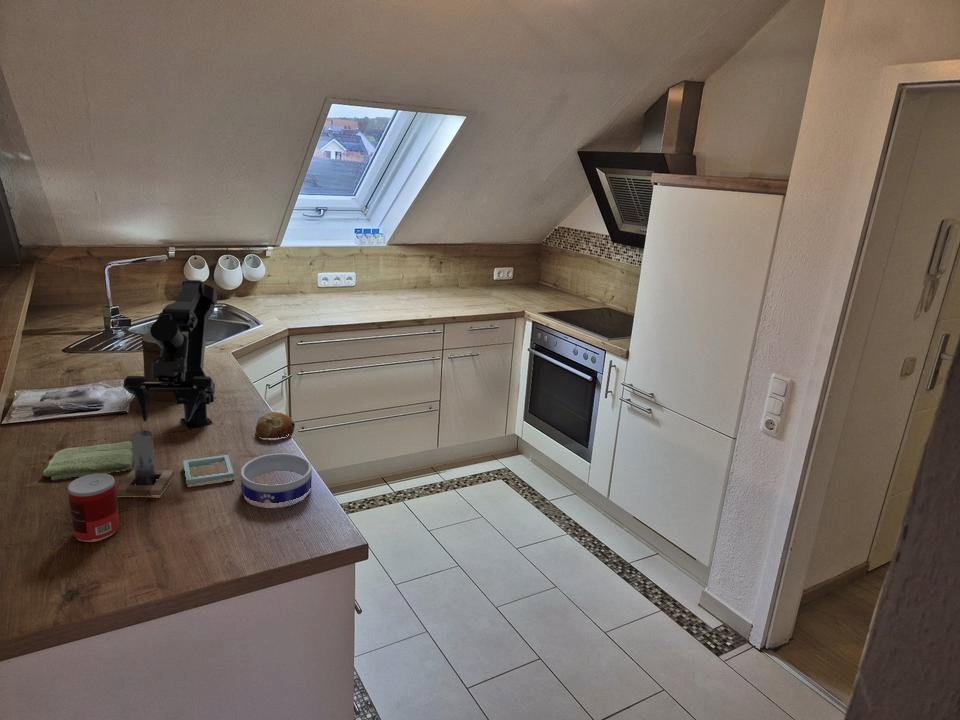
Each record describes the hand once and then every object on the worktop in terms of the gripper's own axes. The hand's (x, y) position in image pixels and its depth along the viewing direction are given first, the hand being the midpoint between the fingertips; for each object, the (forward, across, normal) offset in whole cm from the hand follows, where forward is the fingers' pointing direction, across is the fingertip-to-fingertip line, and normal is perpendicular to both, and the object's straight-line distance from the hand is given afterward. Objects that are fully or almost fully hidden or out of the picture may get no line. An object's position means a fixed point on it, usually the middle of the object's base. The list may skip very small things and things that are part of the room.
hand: (166, 420), depth 147 cm
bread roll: (-2, +22, +24) cm, 32 cm away
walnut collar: (+15, -3, +2) cm, 15 cm away
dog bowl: (+17, +25, 0) cm, 30 cm away
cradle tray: (+12, +9, +6) cm, 16 cm away
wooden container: (-21, -11, +47) cm, 53 cm away
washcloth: (+8, -18, +11) cm, 23 cm away
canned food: (+26, -8, -12) cm, 29 cm away
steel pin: (+15, -3, +2) cm, 15 cm away
